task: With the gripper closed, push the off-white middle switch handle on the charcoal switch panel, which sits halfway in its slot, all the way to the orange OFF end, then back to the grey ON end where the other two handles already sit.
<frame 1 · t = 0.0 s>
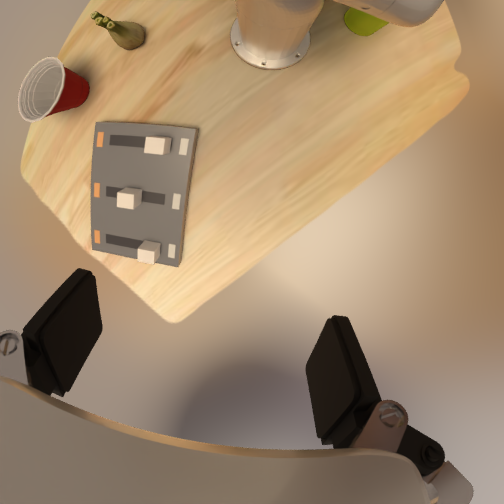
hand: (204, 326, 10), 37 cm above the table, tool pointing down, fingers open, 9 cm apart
plastic cup: (78, 91, 36), on the table
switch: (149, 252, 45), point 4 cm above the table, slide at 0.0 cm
tripped switch: (129, 198, 40), point 4 cm above the table, slide at 4.0 cm
fennel bulb: (134, 38, 32), on the table
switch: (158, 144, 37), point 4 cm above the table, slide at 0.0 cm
switch panel: (139, 191, 44), on the table
soap dispenser: (358, 24, 31), on the table
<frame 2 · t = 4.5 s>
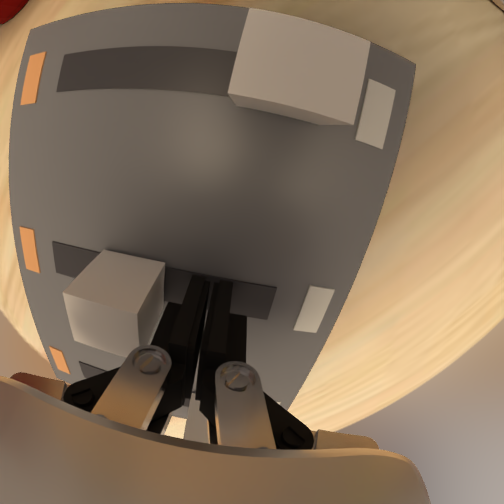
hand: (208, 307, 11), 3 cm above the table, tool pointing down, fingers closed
tripped switch: (118, 301, 10), point 4 cm above the table, slide at 4.8 cm, touching gripper
switch panel: (164, 255, 14), on the table
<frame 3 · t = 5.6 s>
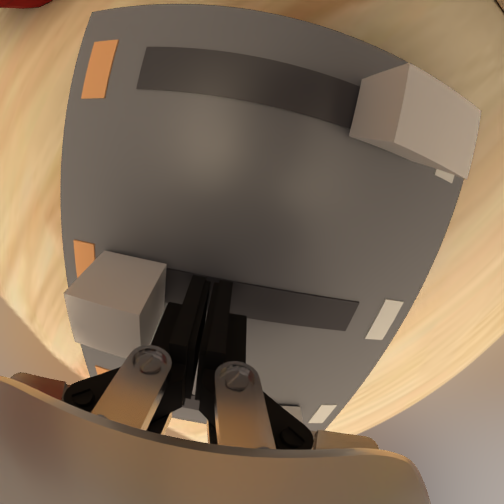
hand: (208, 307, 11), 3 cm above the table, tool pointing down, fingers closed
tripped switch: (119, 302, 10), point 4 cm above the table, slide at 8.8 cm, touching gripper
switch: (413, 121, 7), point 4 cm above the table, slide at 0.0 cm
switch panel: (241, 272, 14), on the table
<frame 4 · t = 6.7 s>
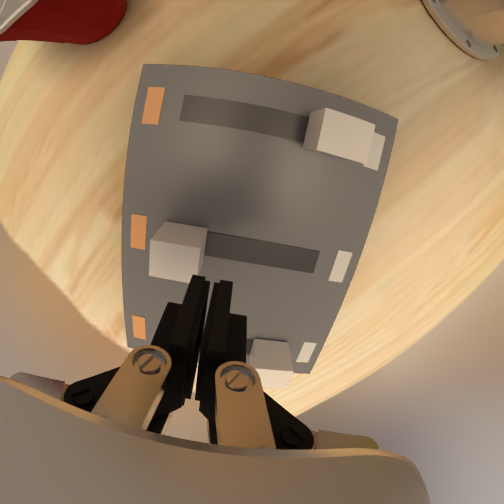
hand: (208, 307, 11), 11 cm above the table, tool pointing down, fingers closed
plastic cup: (99, 15, 13), on the table
tripped switch: (179, 250, 17), point 4 cm above the table, slide at 8.1 cm
switch panel: (241, 236, 22), on the table
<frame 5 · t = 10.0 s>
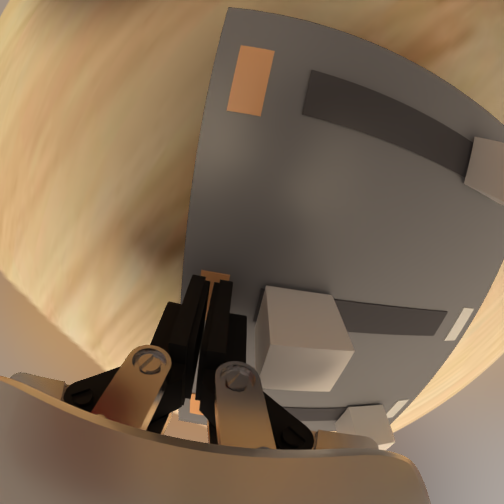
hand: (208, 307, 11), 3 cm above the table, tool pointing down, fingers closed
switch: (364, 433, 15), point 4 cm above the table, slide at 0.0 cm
tripped switch: (297, 338, 10), point 4 cm above the table, slide at 7.9 cm, touching gripper
switch panel: (352, 291, 15), on the table
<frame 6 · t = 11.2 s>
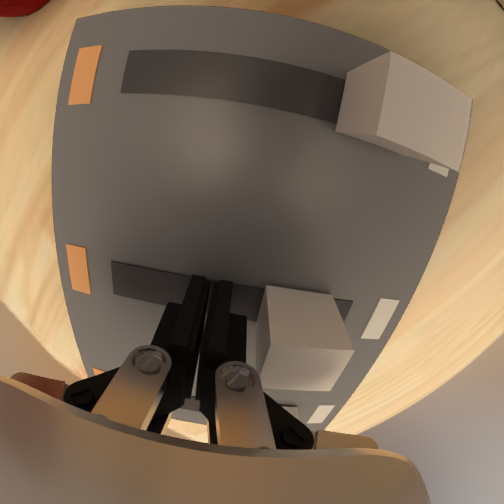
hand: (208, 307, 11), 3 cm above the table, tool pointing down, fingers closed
tripped switch: (298, 338, 11), point 4 cm above the table, slide at 1.1 cm, touching gripper
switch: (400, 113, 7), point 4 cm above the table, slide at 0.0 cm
switch panel: (233, 272, 14), on the table
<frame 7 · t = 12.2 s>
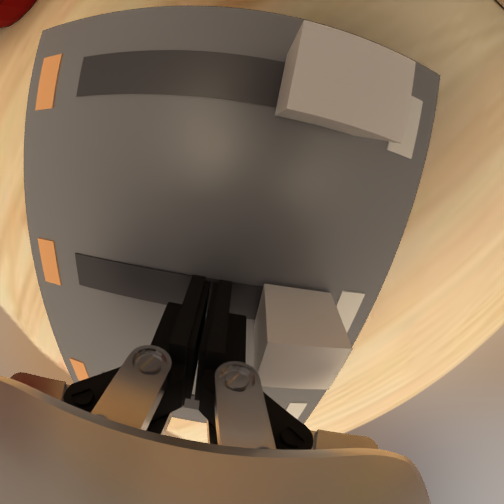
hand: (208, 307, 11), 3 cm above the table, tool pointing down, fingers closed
tripped switch: (296, 336, 11), point 4 cm above the table, slide at -0.9 cm, touching gripper
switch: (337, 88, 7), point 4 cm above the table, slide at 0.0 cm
switch panel: (193, 264, 14), on the table
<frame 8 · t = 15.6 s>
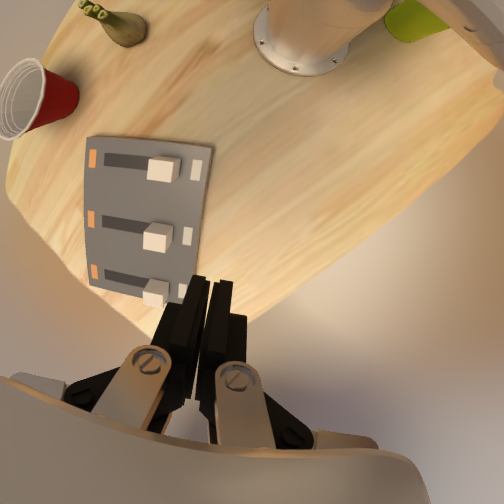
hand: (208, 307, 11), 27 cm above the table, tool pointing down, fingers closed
plastic cup: (66, 98, 29), on the table
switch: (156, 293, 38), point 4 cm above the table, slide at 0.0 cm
tripped switch: (158, 237, 34), point 4 cm above the table, slide at -0.1 cm
fennel bulb: (134, 33, 26), on the table
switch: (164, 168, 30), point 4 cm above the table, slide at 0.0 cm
switch panel: (142, 220, 38), on the table
soap dispenser: (399, 28, 25), on the table
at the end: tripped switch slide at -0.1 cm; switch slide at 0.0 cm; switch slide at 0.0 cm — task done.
